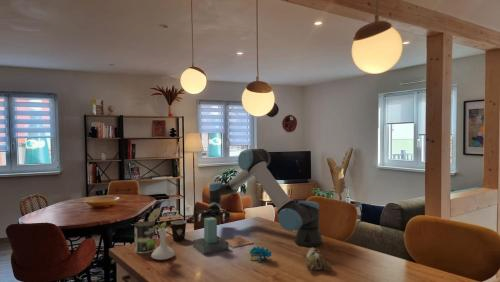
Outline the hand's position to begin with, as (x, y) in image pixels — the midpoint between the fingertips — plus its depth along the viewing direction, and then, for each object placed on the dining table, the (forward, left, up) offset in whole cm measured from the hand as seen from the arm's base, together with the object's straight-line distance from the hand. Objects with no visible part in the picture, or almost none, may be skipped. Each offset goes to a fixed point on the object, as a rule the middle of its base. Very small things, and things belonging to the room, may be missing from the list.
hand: (211, 218), depth 185 cm
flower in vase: (-8, +31, -14) cm, 35 cm away
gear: (-36, -9, -14) cm, 40 cm away
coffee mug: (+16, +15, -14) cm, 26 cm away
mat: (-8, -12, -13) cm, 20 cm away
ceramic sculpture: (-58, -24, -14) cm, 65 cm away
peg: (-9, +5, -13) cm, 17 cm away
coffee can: (+8, +35, -14) cm, 38 cm away
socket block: (-9, +5, -13) cm, 17 cm away
